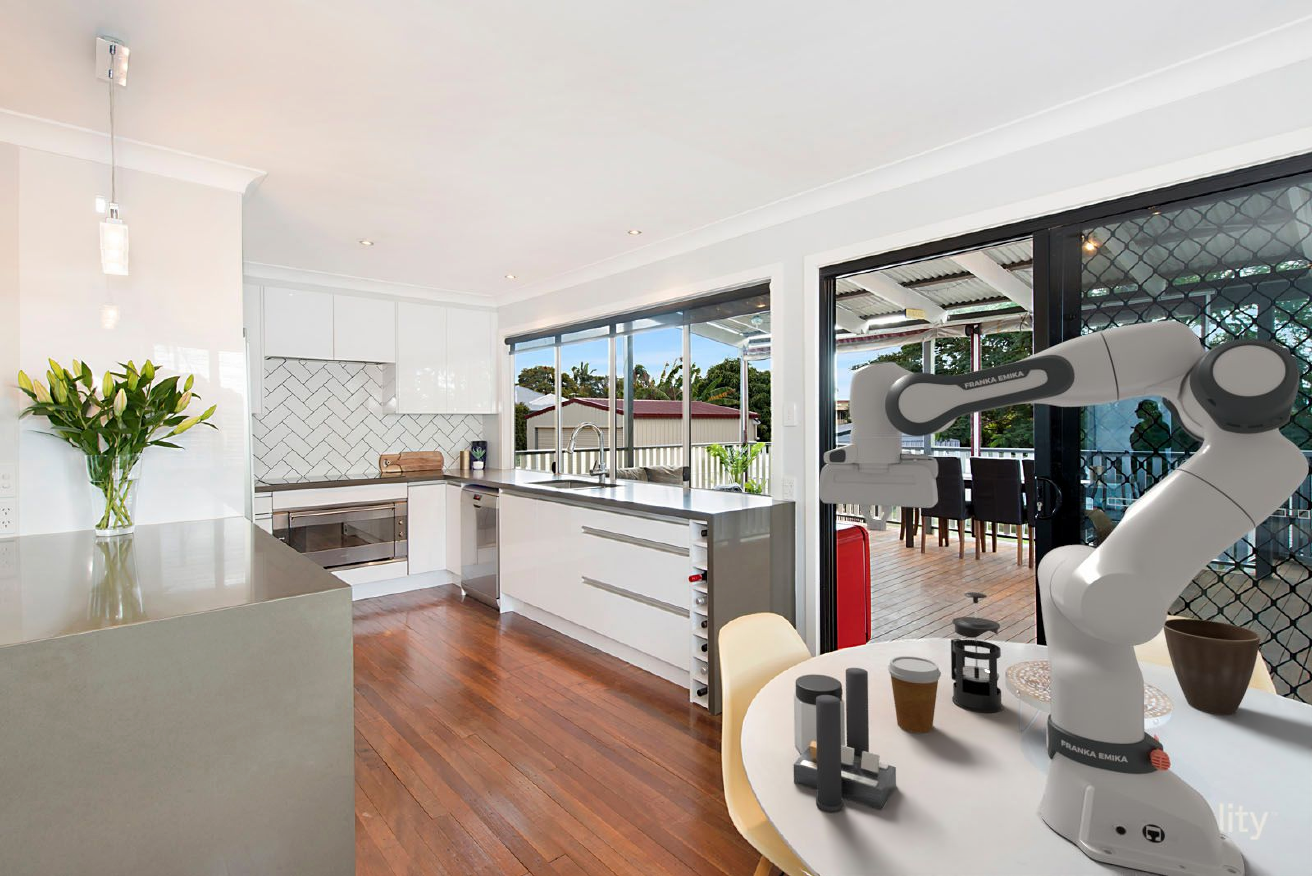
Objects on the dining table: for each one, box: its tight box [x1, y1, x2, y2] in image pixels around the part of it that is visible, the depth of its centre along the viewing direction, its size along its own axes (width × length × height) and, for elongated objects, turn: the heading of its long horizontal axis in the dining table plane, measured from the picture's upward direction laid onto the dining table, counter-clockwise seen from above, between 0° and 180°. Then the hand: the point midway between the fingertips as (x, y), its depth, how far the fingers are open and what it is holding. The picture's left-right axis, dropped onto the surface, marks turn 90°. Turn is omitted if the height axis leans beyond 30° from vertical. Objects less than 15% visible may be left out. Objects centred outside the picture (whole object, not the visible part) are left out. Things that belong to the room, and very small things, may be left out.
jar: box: [793, 673, 846, 756], centre depth 114 cm, size 9×8×12 cm
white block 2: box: [861, 751, 880, 772], centre depth 101 cm, size 2×1×2 cm, turn 55°
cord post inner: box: [845, 667, 870, 757], centre depth 108 cm, size 4×4×16 cm
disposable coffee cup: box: [887, 655, 942, 734], centre depth 123 cm, size 10×10×12 cm
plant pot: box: [1163, 618, 1261, 716], centre depth 129 cm, size 15×15×16 cm
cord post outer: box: [815, 695, 844, 814], centre depth 97 cm, size 4×4×16 cm
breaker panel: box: [793, 747, 897, 811], centre depth 102 cm, size 14×8×3 cm, turn 55°
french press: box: [950, 591, 1004, 714], centre depth 133 cm, size 12×9×23 cm
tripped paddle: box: [810, 741, 817, 759], centre depth 104 cm, size 2×1×2 cm, turn 55°
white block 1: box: [841, 745, 854, 765], centre depth 103 cm, size 2×1×2 cm, turn 55°
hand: (876, 530), depth 114 cm, fingers closed
